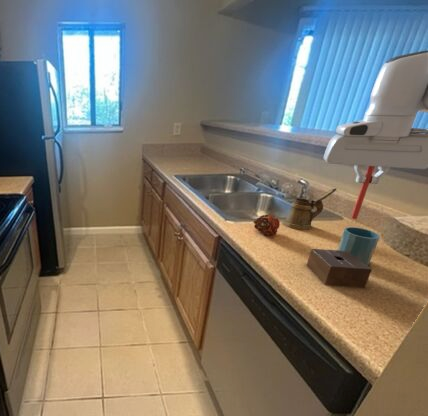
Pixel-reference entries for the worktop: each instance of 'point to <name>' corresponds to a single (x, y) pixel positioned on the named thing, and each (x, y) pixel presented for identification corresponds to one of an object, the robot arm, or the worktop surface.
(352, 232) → the cup
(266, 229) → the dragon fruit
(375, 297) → the worktop surface
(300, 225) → the wooden mug
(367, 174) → the straw
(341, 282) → the block
